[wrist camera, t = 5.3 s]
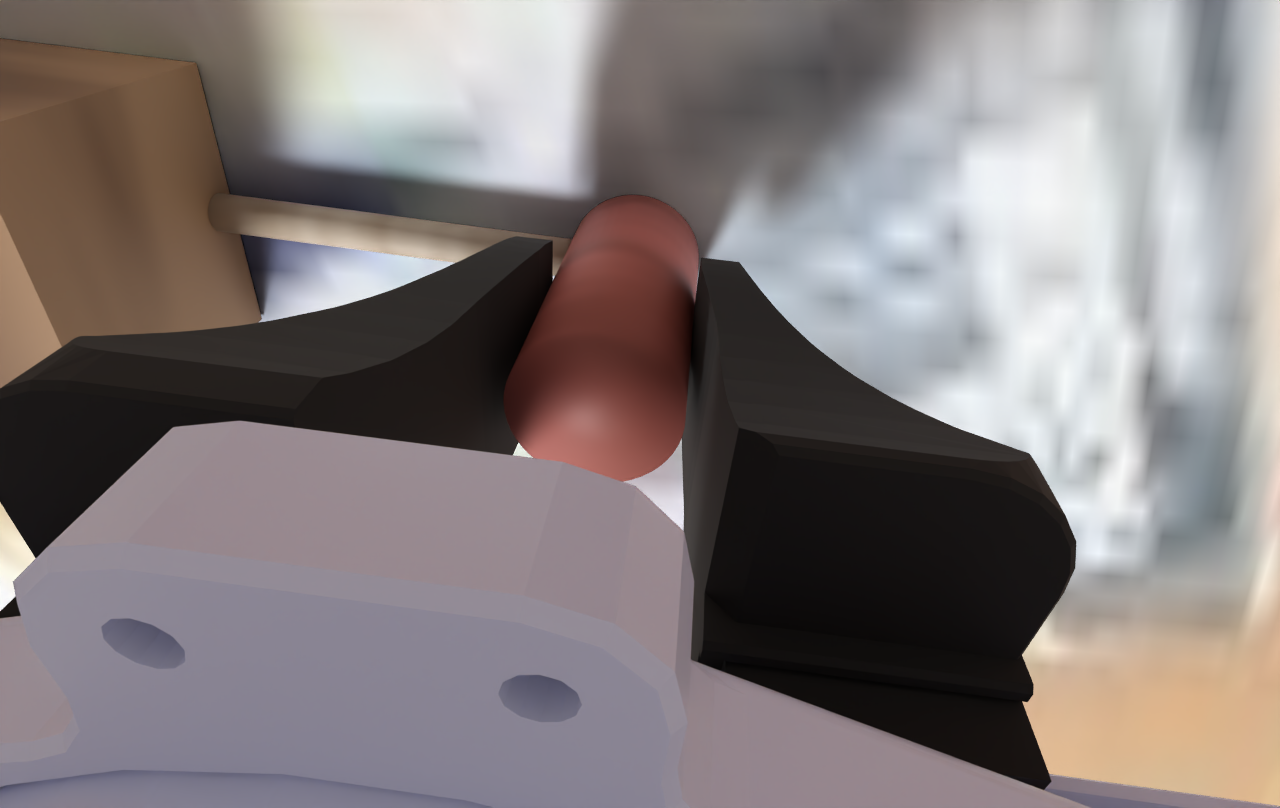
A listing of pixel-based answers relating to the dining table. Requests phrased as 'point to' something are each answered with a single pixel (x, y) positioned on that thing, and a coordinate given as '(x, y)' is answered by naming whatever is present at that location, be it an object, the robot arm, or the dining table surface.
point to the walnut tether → (217, 266)
